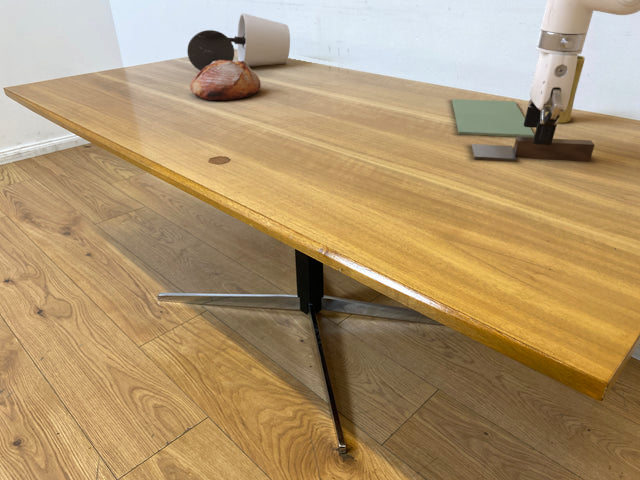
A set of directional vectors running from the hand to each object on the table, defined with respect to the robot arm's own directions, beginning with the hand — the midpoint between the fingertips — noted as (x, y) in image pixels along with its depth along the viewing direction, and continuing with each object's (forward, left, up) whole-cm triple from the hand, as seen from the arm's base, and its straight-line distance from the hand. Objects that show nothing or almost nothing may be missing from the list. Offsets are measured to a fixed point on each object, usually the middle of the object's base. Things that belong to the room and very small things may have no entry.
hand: (536, 135), depth 94 cm
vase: (-10, -25, -5) cm, 27 cm away
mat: (+5, -24, -4) cm, 25 cm away
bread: (+76, -36, -5) cm, 85 cm away
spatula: (0, 0, -4) cm, 4 cm away
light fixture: (+83, -69, -5) cm, 107 cm away
